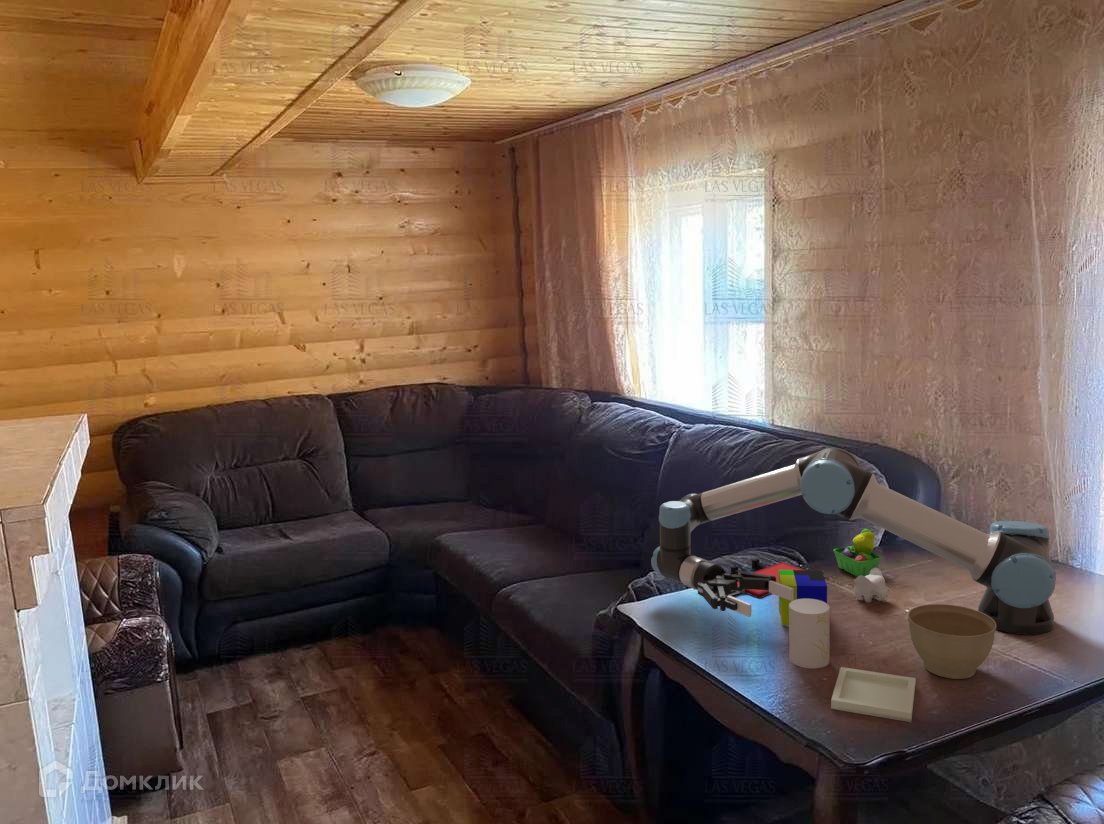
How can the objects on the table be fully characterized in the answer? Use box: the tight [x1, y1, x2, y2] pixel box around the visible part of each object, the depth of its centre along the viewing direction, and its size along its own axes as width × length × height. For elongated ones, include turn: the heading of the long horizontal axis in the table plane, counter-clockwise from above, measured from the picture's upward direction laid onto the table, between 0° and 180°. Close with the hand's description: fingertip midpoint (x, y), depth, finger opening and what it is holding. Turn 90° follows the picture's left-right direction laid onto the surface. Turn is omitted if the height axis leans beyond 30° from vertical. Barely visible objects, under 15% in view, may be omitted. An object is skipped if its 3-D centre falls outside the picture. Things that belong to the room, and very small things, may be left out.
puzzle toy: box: [778, 569, 828, 626], centre depth 201 cm, size 10×10×10 cm
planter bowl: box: [907, 603, 997, 680], centre depth 173 cm, size 16×16×11 cm
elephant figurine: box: [853, 568, 894, 603], centre depth 209 cm, size 8×10×7 cm
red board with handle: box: [715, 558, 805, 599], centre depth 225 cm, size 30×3×15 cm
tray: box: [830, 666, 917, 723], centre depth 164 cm, size 14×14×2 cm
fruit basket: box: [833, 528, 882, 578], centre depth 228 cm, size 11×9×11 cm
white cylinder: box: [788, 599, 831, 669], centre depth 180 cm, size 8×8×12 cm
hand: (771, 602), depth 188 cm, fingers open, 13 cm apart
